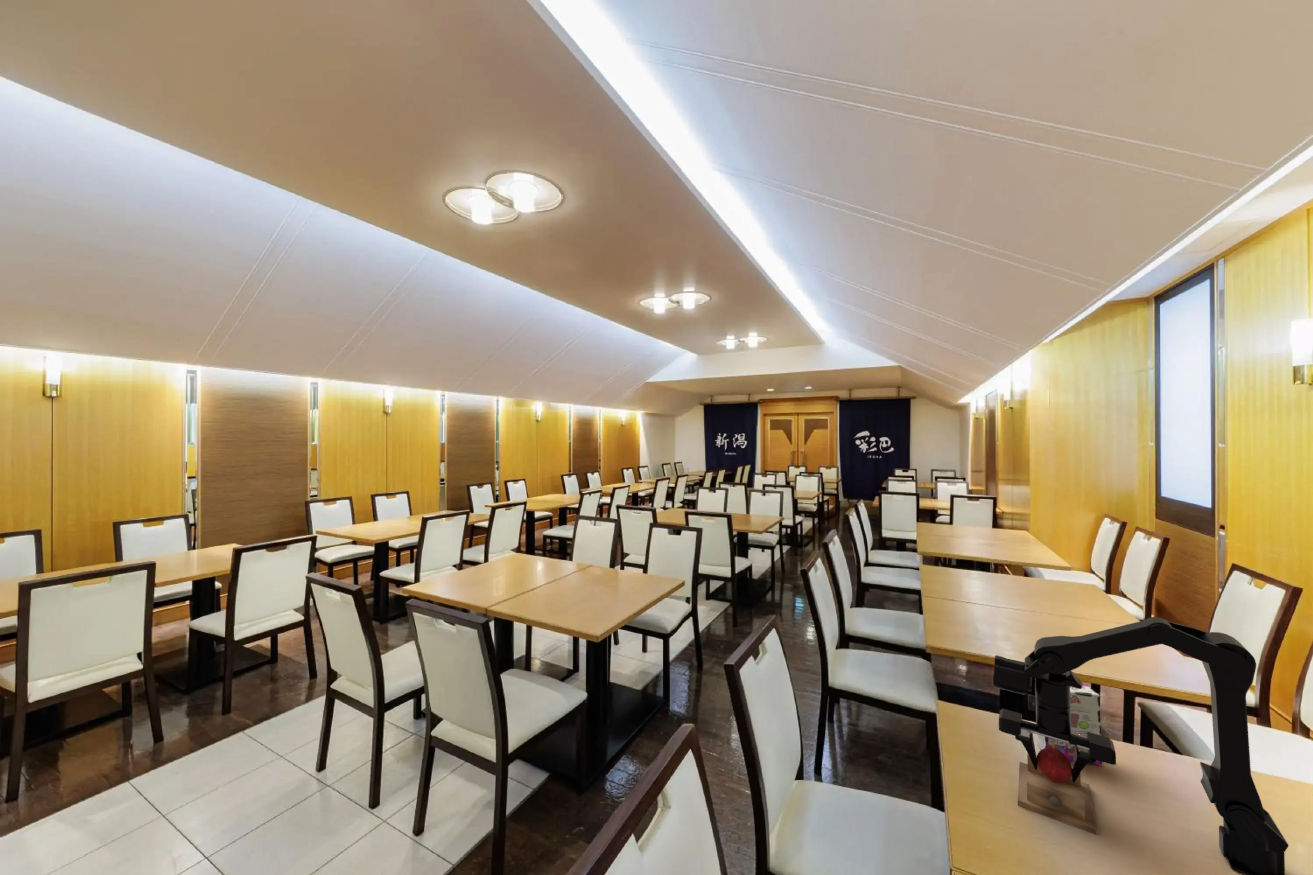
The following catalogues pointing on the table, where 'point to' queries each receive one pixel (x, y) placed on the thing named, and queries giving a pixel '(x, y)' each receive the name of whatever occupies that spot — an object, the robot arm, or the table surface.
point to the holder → (1056, 797)
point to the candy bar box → (1078, 720)
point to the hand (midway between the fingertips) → (1054, 774)
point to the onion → (1054, 764)
